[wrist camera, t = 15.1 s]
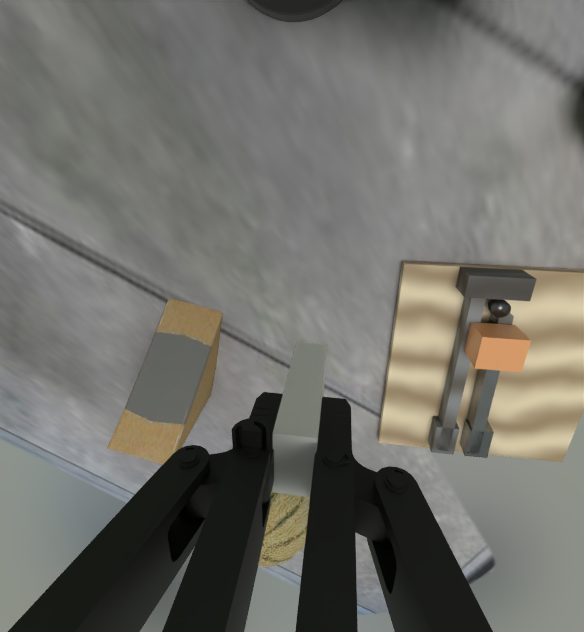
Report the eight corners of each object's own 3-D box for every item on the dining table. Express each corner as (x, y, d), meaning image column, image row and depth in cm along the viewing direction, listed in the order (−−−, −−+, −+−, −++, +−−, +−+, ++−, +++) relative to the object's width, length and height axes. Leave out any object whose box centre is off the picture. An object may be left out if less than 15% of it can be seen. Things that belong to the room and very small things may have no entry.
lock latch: (471, 322, 43) (482, 337, 40) (515, 325, 43) (531, 340, 39) (464, 351, 45) (474, 368, 41) (507, 354, 44) (521, 372, 41)
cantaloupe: (321, 504, 65) (315, 597, 51) (241, 499, 67) (214, 587, 53) (317, 438, 59) (308, 523, 45) (229, 436, 61) (196, 515, 47)
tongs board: (402, 260, 46) (408, 272, 41) (629, 271, 43) (664, 285, 38) (377, 435, 57) (380, 460, 52) (556, 454, 54) (576, 482, 49)
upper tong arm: (485, 292, 44) (494, 301, 42) (520, 293, 44) (531, 302, 41) (452, 442, 54) (458, 458, 51) (481, 445, 53) (488, 461, 50)
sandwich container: (225, 310, 52) (182, 365, 39) (212, 396, 58) (171, 468, 45) (167, 296, 52) (105, 344, 39) (161, 382, 59) (105, 450, 45)
